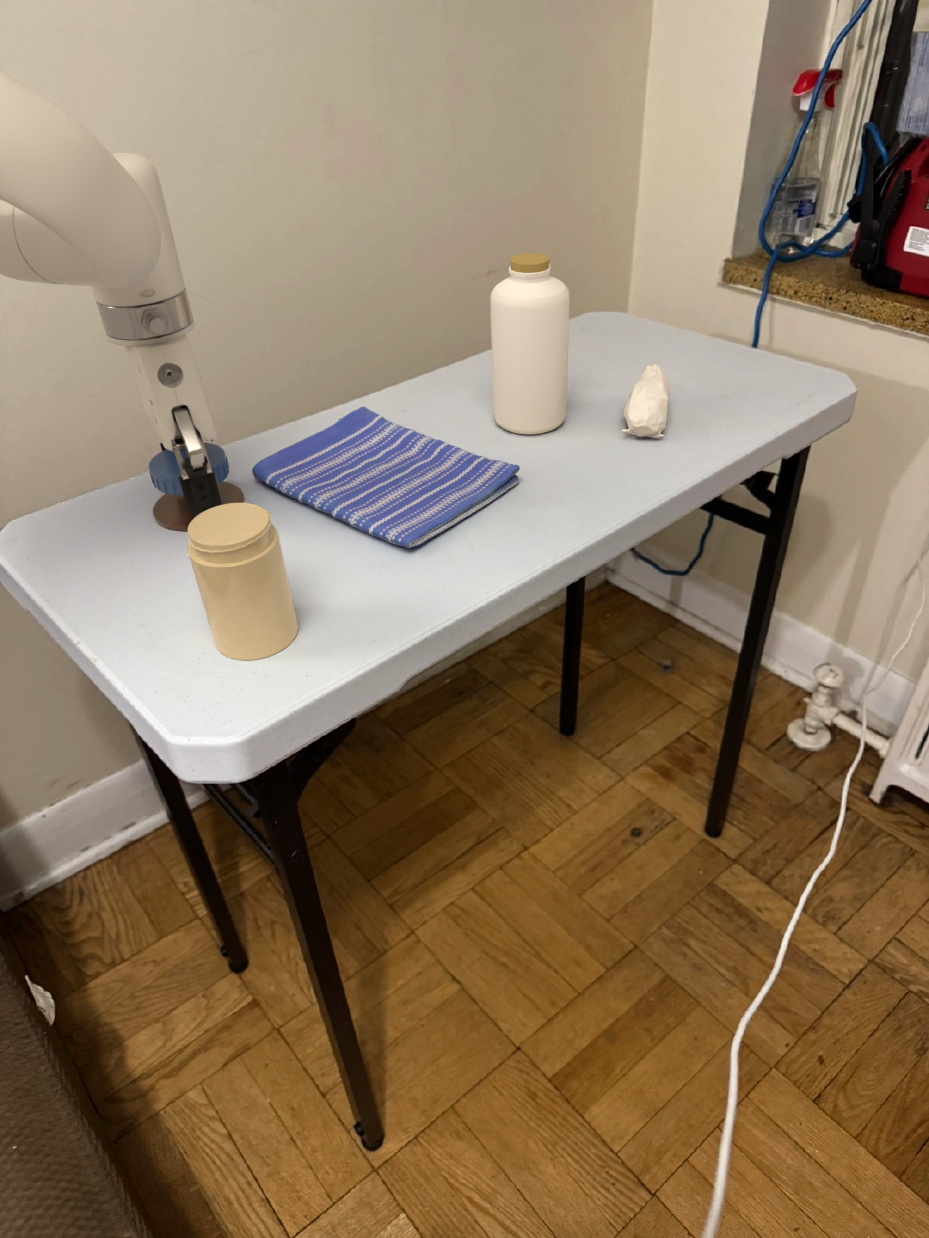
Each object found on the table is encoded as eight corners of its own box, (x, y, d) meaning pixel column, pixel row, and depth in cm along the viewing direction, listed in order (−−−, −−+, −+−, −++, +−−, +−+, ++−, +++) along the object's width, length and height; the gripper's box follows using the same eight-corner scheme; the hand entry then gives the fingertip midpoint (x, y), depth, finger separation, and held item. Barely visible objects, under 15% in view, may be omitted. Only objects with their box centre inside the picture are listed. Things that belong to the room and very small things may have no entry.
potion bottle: (519, 401, 104) (517, 243, 93) (579, 416, 100) (585, 253, 89) (479, 427, 99) (473, 264, 88) (541, 444, 95) (543, 275, 84)
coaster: (165, 541, 83) (163, 535, 82) (146, 500, 89) (144, 495, 89) (255, 514, 86) (254, 509, 85) (231, 477, 92) (230, 472, 92)
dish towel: (365, 423, 101) (362, 401, 99) (525, 482, 88) (525, 457, 86) (247, 482, 91) (242, 458, 89) (408, 558, 78) (405, 532, 77)
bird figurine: (618, 417, 102) (619, 435, 93) (633, 358, 99) (636, 371, 90) (659, 426, 102) (664, 445, 93) (676, 367, 99) (682, 381, 90)
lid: (219, 452, 89) (214, 435, 88) (238, 482, 84) (234, 464, 83) (146, 471, 87) (141, 453, 86) (161, 503, 81) (156, 485, 80)
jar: (227, 671, 67) (194, 558, 61) (205, 624, 72) (172, 515, 66) (309, 642, 70) (286, 530, 63) (283, 599, 74) (259, 491, 68)
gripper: (214, 335, 71) (257, 520, 81) (168, 281, 83) (210, 449, 94) (121, 354, 68) (177, 543, 79) (87, 297, 80) (140, 467, 91)
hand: (195, 491), depth 86 cm, fingers closed on lid, 7 cm apart
